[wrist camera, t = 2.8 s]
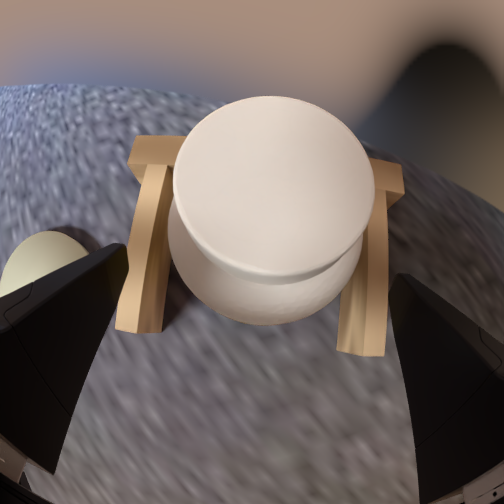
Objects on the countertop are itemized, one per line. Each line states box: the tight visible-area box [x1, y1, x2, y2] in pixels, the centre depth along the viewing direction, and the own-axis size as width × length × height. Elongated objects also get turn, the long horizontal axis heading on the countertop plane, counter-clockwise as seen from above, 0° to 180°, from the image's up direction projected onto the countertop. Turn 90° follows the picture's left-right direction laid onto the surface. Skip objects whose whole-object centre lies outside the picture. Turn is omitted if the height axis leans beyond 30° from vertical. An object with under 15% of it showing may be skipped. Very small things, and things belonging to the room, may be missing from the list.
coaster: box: [0, 231, 90, 297], centre depth 17 cm, size 10×10×1 cm
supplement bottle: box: [168, 96, 375, 326], centre depth 13 cm, size 7×7×13 cm
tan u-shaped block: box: [115, 136, 405, 356], centre depth 17 cm, size 11×16×4 cm
